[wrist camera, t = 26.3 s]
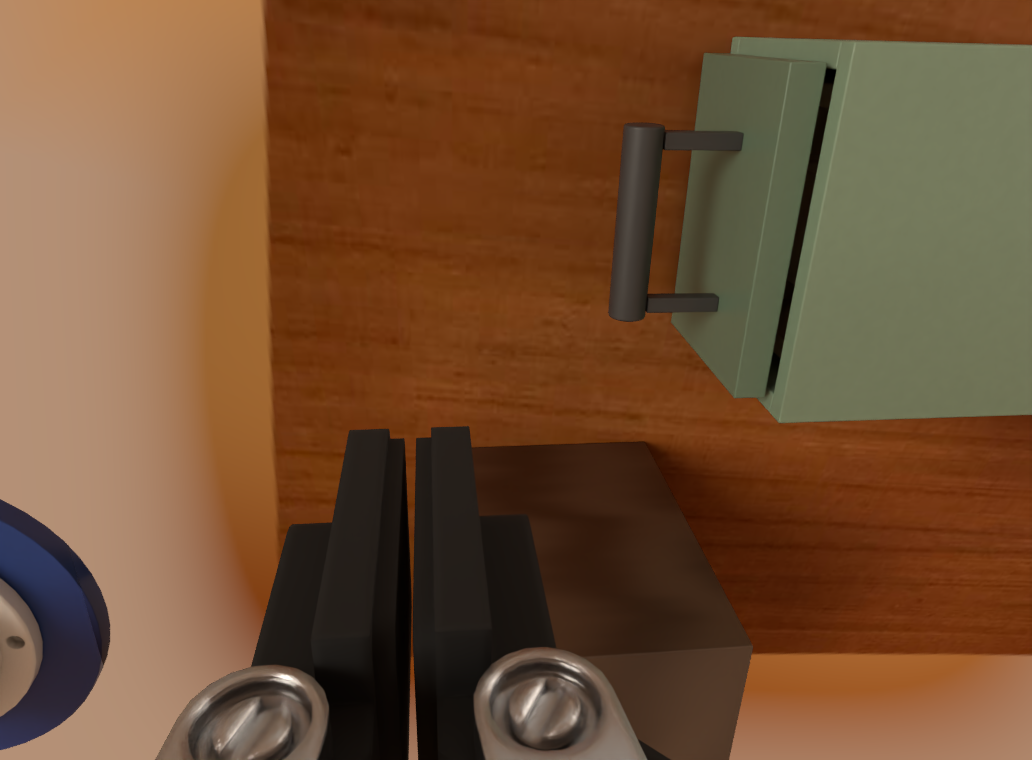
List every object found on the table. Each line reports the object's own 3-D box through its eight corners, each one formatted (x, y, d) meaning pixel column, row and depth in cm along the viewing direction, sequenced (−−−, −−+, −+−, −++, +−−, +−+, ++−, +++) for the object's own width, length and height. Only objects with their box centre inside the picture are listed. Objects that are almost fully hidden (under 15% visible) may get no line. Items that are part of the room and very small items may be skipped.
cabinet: (692, 327, 36) (778, 423, 27) (731, 36, 30) (854, 41, 22) (975, 322, 37) (1141, 411, 29) (1060, 45, 32) (1297, 53, 23)
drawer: (581, 324, 34) (622, 402, 27) (599, 50, 29) (655, 57, 22) (942, 318, 36) (1069, 389, 29) (1017, 60, 31) (1190, 70, 24)
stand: (451, 604, 41) (462, 858, 29) (448, 447, 37) (461, 666, 24) (627, 593, 42) (713, 834, 30) (645, 441, 38) (754, 646, 25)
